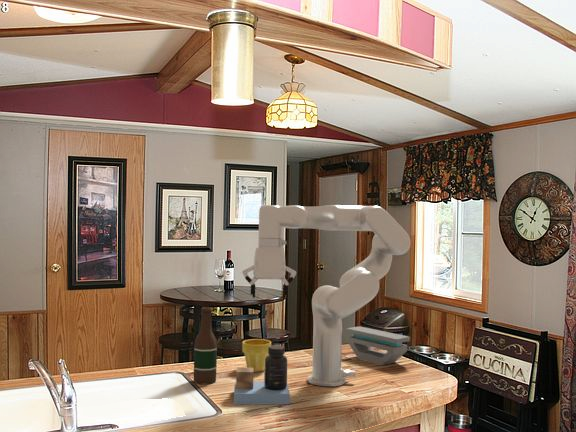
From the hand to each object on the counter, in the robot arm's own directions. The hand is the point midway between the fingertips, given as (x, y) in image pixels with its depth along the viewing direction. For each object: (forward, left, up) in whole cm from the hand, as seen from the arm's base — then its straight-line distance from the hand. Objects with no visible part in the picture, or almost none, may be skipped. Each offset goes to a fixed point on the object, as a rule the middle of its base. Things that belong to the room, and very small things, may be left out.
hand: (268, 297), depth 178 cm
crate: (+7, +11, -25) cm, 28 cm away
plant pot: (+3, -20, -28) cm, 35 cm away
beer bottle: (+20, -5, -28) cm, 35 cm away
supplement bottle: (-2, +12, -26) cm, 28 cm away
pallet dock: (+2, +12, -28) cm, 31 cm away
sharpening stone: (-43, -34, -28) cm, 62 cm away
